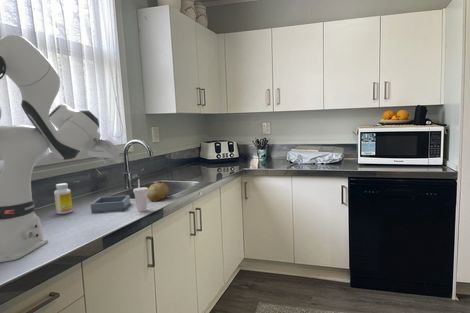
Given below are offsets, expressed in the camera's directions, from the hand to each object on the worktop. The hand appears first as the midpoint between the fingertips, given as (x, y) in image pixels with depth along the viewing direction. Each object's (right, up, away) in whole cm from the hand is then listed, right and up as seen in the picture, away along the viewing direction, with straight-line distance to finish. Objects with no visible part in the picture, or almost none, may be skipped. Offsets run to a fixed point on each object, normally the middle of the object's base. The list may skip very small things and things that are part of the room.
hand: (113, 161), depth 140 cm
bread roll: (+10, -20, +36) cm, 42 cm away
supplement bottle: (-27, -23, +15) cm, 39 cm away
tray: (-8, -22, +20) cm, 30 cm away
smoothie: (+8, -22, +12) cm, 26 cm away
